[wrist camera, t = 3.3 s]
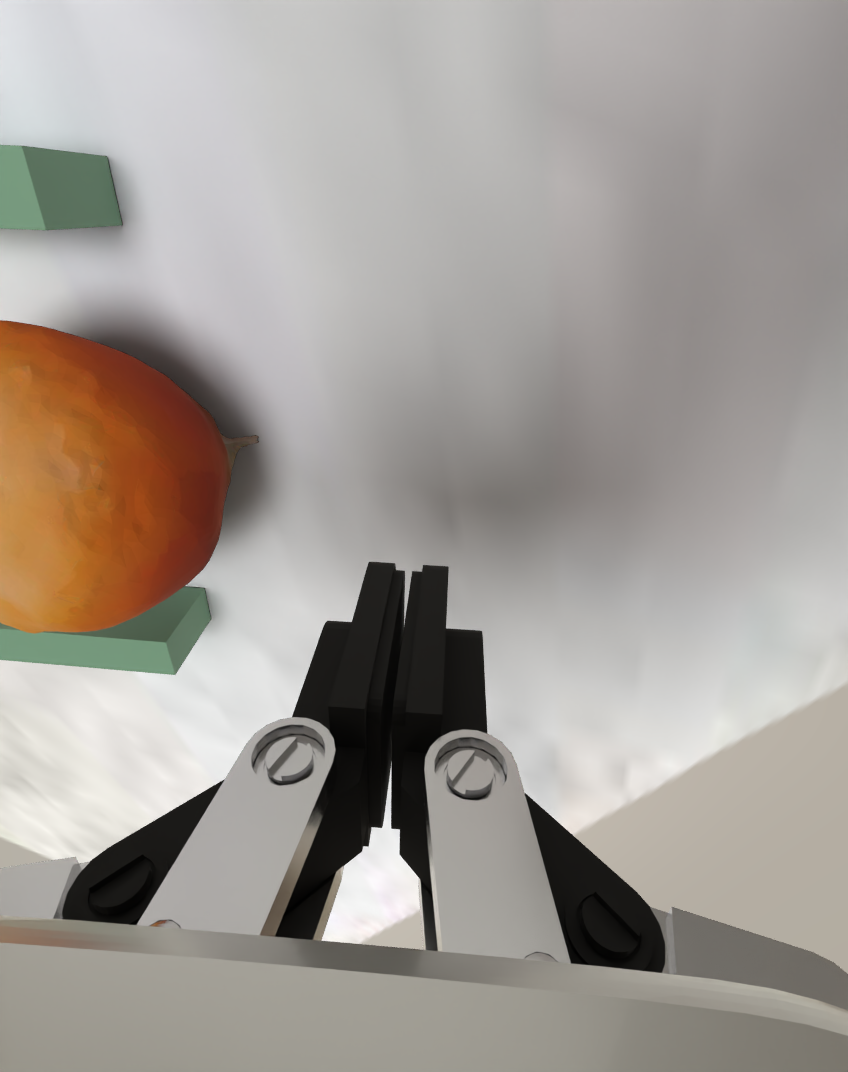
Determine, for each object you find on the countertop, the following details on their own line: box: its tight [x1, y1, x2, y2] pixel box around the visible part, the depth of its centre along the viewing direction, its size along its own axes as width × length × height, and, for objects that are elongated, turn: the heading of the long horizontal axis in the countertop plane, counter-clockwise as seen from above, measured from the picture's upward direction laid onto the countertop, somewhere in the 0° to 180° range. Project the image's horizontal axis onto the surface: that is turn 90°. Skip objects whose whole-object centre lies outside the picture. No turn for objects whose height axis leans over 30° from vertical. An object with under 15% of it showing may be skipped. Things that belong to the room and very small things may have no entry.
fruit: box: [0, 320, 259, 634], centre depth 15 cm, size 8×8×8 cm
